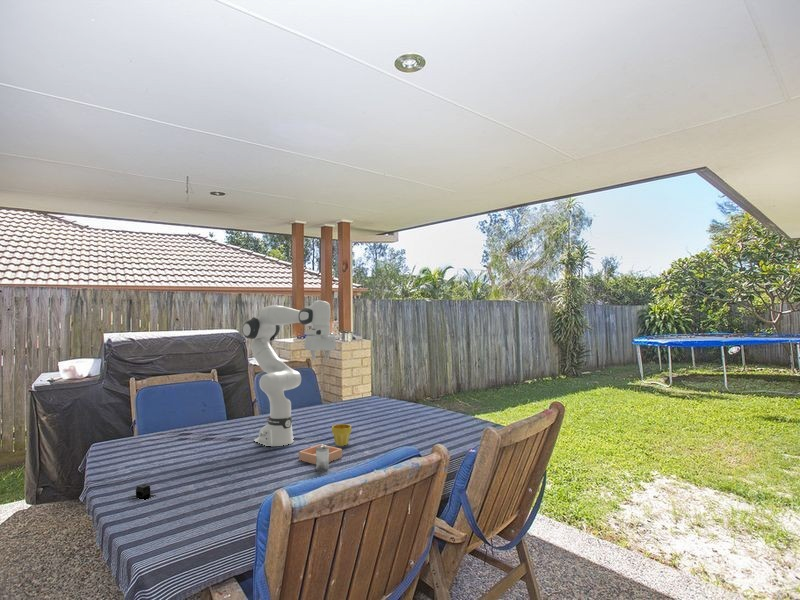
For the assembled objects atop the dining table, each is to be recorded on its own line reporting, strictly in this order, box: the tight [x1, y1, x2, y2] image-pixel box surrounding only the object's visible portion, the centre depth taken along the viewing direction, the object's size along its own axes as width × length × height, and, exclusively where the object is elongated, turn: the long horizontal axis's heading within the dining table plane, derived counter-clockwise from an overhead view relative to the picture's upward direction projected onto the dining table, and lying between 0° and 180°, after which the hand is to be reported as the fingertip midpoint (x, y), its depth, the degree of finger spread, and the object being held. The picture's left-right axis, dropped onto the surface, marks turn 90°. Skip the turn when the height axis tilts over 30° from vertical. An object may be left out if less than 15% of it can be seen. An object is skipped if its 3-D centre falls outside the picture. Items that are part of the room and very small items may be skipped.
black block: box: [129, 483, 157, 501], centre depth 169 cm, size 12×7×5 cm, turn 68°
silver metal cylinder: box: [315, 444, 330, 472], centre depth 199 cm, size 6×6×11 cm
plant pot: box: [331, 423, 352, 447], centre depth 237 cm, size 10×10×10 cm
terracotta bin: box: [298, 443, 343, 465], centre depth 214 cm, size 15×15×4 cm
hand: (320, 359), depth 222 cm, fingers open, 8 cm apart
